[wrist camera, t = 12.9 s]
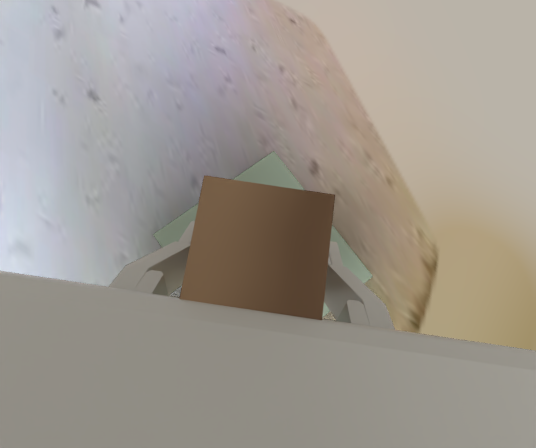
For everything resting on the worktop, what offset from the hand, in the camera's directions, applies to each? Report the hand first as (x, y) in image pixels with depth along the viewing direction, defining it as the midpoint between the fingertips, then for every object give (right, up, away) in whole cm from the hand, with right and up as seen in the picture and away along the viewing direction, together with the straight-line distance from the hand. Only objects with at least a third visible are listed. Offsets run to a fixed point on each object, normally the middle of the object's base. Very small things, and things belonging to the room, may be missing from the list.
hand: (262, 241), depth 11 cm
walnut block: (0, -1, +5) cm, 5 cm away
